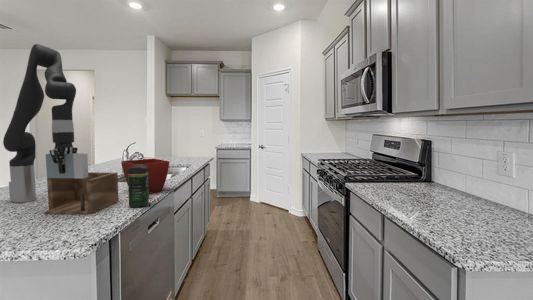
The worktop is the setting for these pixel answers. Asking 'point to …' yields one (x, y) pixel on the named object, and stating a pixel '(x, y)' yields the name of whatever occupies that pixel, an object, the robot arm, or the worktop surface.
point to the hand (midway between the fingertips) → (65, 172)
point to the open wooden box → (82, 193)
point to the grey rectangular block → (69, 166)
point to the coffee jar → (138, 186)
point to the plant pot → (150, 172)
